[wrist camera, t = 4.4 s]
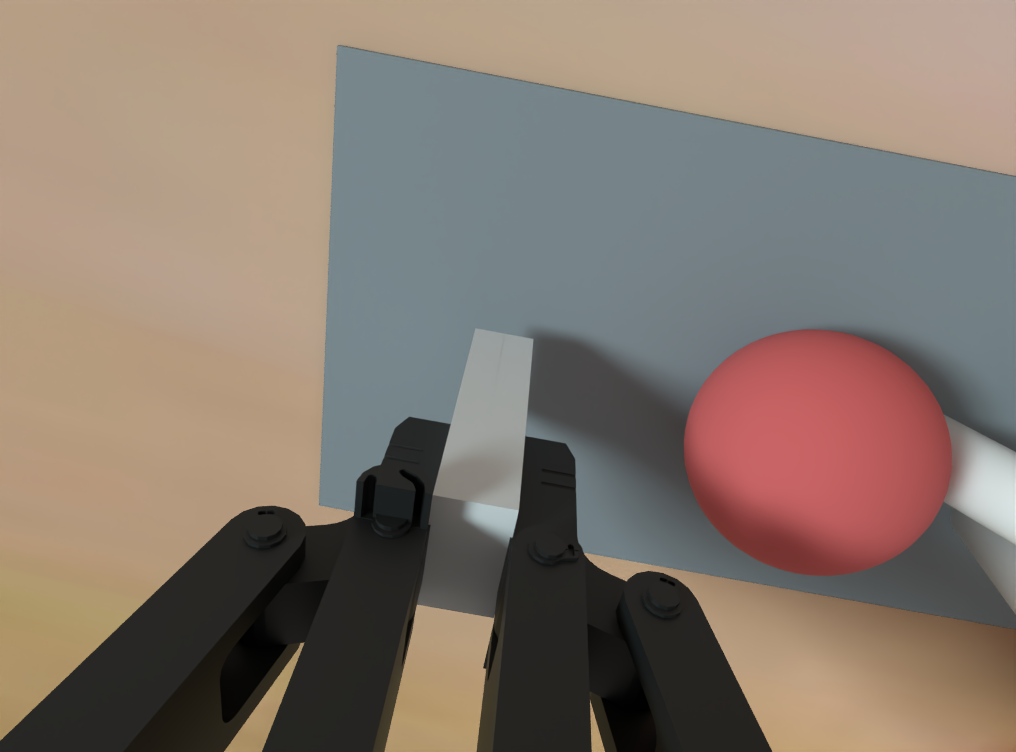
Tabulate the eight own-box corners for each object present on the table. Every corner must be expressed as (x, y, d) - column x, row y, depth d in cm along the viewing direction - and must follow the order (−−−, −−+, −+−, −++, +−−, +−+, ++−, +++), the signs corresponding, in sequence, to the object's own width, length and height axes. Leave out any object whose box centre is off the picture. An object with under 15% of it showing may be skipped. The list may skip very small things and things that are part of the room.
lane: (1069, 634, 23) (1072, 639, 23) (321, 501, 23) (319, 505, 23) (1404, 251, 16) (1413, 254, 16) (340, 45, 16) (337, 45, 16)
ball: (663, 601, 16) (652, 445, 21) (917, 653, 16) (846, 483, 21) (747, 395, 13) (710, 269, 18) (1067, 457, 13) (940, 312, 18)
